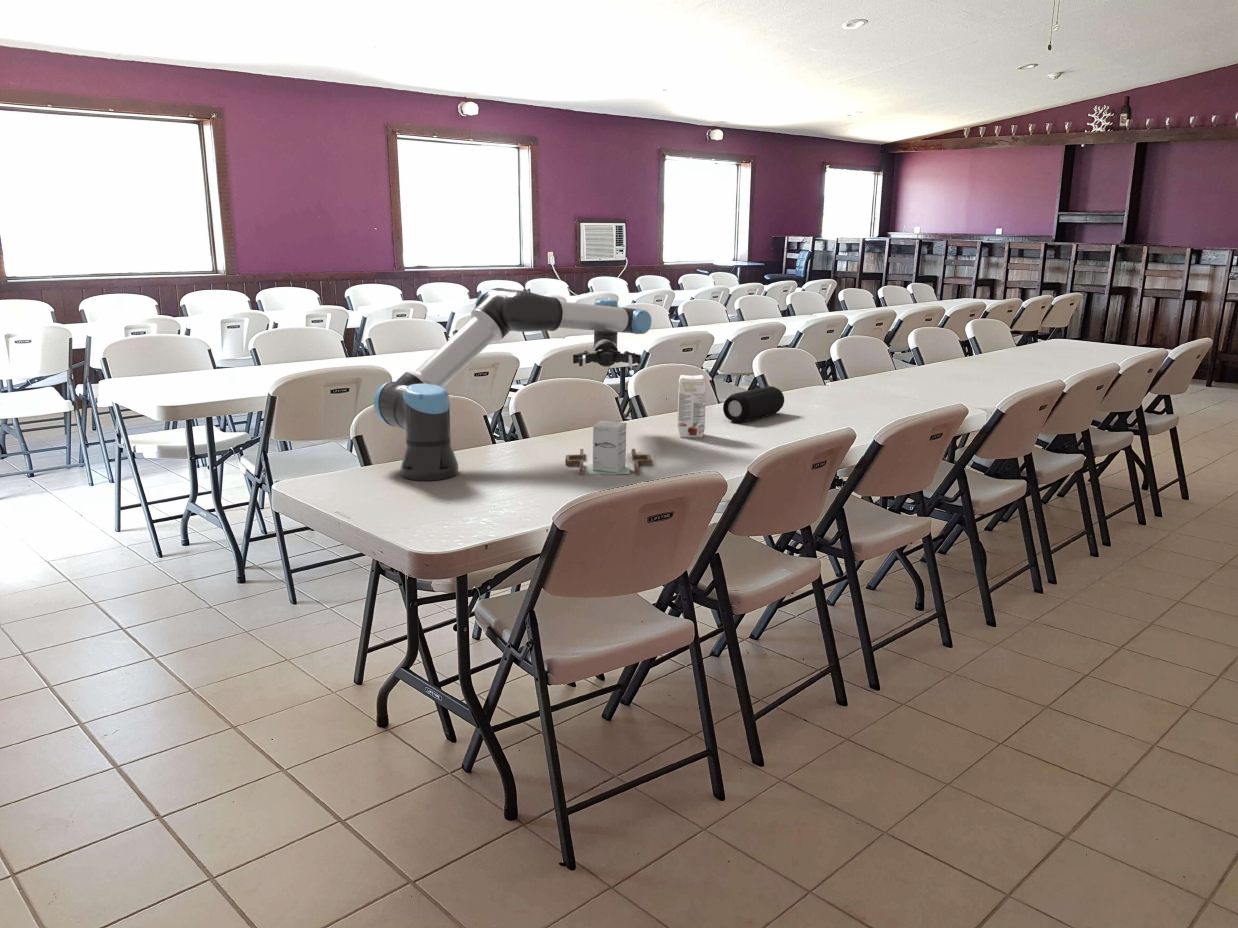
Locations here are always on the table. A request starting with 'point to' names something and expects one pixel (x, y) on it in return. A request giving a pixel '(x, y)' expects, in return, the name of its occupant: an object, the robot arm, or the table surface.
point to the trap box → (638, 458)
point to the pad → (597, 472)
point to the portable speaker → (753, 404)
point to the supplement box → (609, 446)
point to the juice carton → (691, 406)
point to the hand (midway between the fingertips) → (607, 362)
